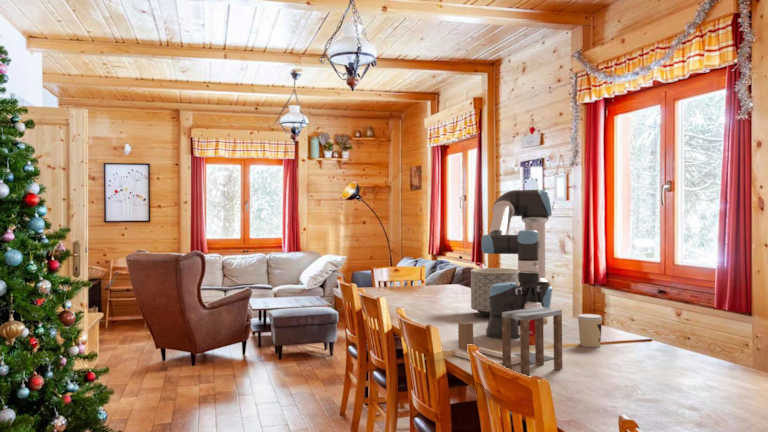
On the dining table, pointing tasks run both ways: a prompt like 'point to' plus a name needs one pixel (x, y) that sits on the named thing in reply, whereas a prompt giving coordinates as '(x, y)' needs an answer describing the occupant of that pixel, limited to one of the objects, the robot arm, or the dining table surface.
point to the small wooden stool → (524, 318)
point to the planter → (488, 285)
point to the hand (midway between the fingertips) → (529, 333)
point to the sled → (467, 338)
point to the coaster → (534, 357)
